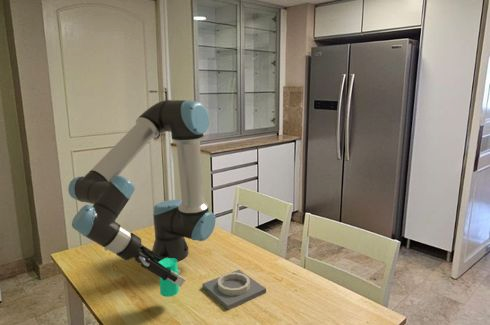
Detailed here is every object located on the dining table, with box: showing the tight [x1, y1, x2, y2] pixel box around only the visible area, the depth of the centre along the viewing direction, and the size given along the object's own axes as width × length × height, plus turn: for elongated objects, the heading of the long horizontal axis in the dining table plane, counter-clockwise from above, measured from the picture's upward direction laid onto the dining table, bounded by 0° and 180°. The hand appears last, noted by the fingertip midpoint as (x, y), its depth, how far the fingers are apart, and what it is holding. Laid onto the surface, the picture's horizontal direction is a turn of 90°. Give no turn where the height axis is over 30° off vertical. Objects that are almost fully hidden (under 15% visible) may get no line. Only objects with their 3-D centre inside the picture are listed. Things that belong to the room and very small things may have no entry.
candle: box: [158, 257, 180, 298], centre depth 113 cm, size 6×6×12 cm
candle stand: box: [201, 269, 267, 310], centre depth 123 cm, size 16×16×4 cm
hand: (180, 278), depth 116 cm, fingers closed on candle, 5 cm apart
